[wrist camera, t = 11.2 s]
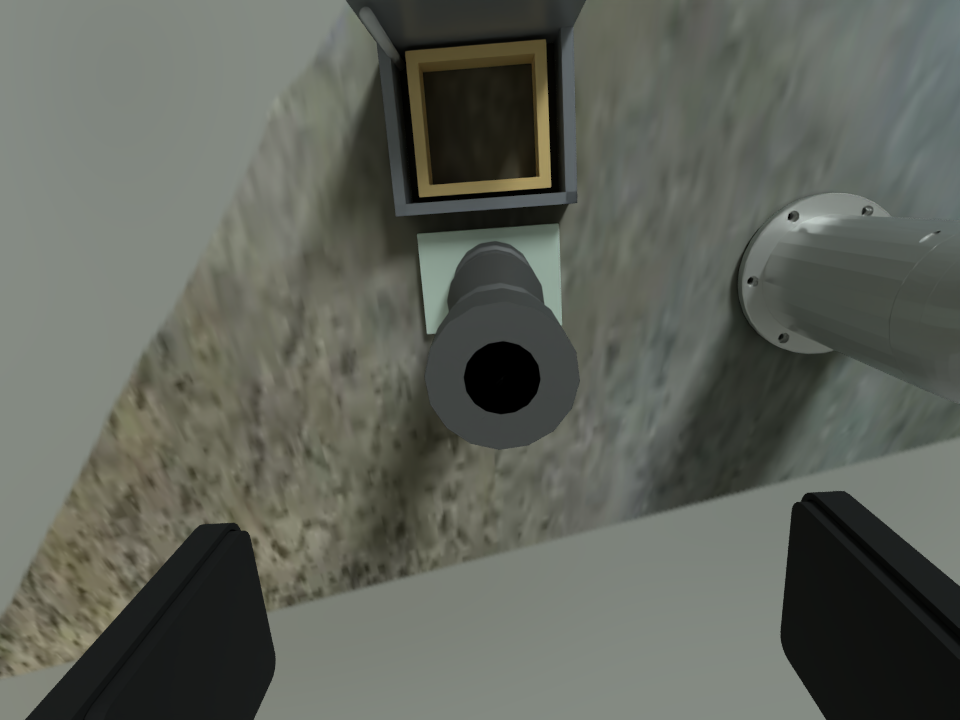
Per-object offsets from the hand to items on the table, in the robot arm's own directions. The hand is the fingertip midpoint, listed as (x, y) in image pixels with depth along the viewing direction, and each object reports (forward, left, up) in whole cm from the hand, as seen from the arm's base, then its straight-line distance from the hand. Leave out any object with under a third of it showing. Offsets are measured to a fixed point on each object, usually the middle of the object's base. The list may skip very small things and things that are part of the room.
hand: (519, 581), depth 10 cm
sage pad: (0, 0, -37) cm, 37 cm away
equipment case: (0, -12, -37) cm, 39 cm away
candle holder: (0, 0, -37) cm, 37 cm away
